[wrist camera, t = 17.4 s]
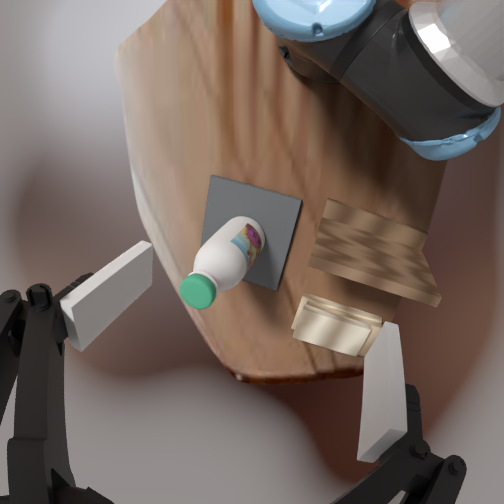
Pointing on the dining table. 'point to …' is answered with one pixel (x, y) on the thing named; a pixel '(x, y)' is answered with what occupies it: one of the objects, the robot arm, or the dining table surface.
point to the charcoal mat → (264, 213)
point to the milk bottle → (223, 261)
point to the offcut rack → (362, 275)
